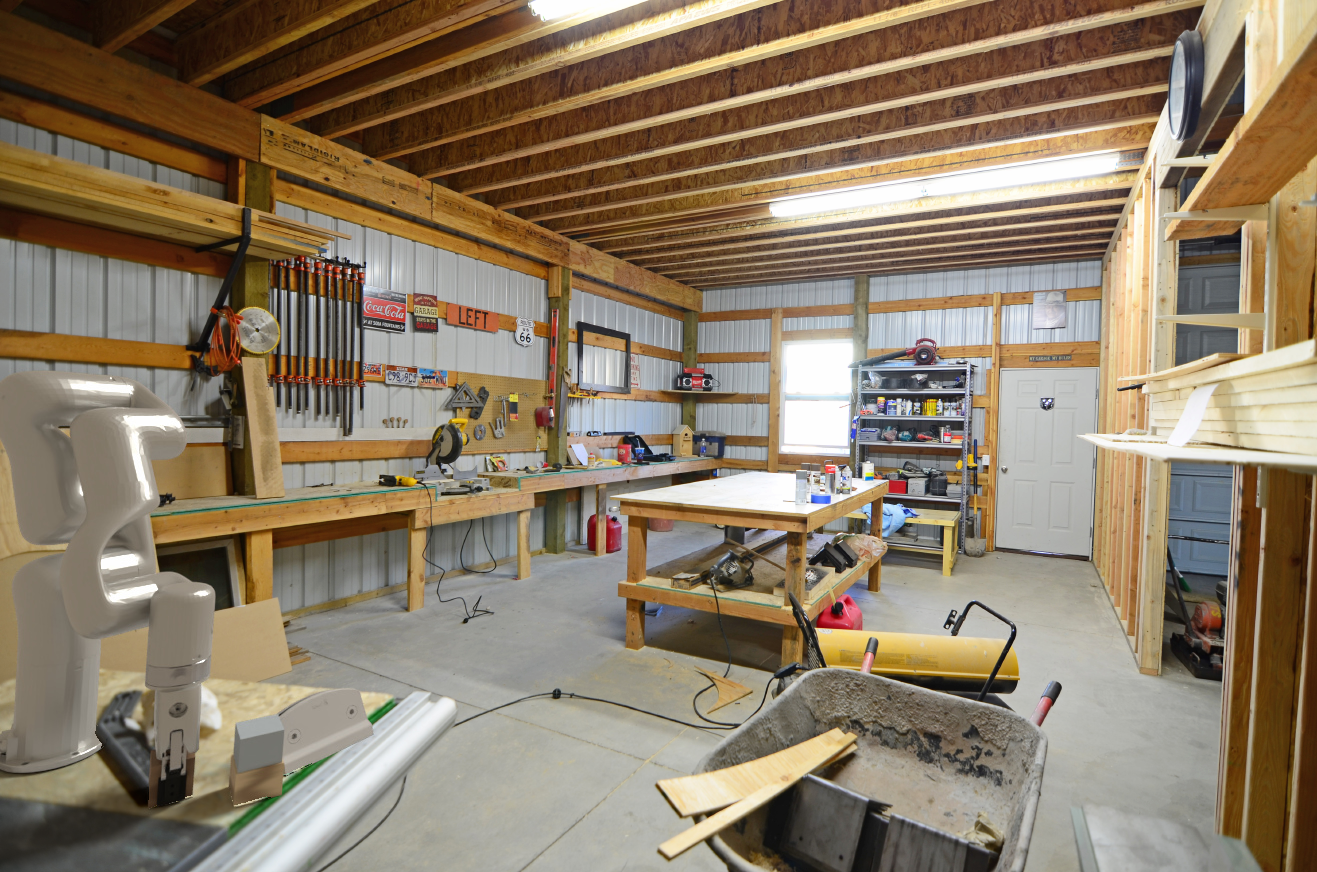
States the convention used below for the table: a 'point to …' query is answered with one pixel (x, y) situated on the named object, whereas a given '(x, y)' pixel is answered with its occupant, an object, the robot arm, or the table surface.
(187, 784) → the walnut block
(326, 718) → the beige mounting bracket
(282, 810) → the table surface
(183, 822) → the table surface
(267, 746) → the grey block
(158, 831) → the table surface
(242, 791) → the oak block
